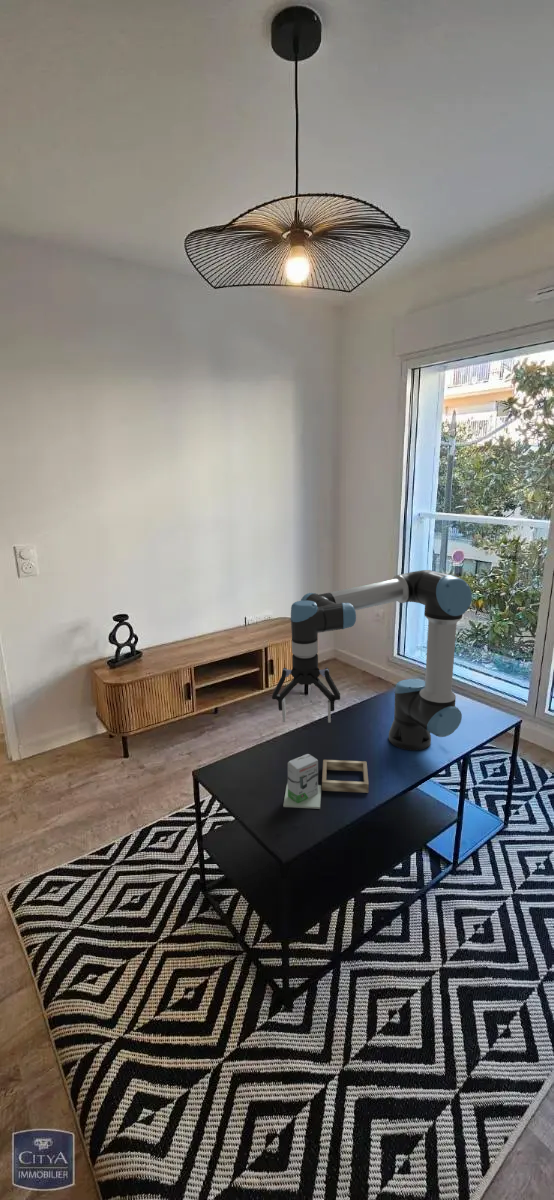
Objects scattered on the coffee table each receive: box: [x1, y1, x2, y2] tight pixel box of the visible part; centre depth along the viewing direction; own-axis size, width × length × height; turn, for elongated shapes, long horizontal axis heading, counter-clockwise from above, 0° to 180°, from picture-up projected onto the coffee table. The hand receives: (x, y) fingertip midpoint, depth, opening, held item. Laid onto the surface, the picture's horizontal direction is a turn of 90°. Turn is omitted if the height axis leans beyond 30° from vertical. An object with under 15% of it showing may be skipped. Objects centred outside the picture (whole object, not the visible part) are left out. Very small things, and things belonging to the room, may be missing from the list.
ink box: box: [287, 753, 319, 803], centre depth 157 cm, size 9×5×12 cm, turn 127°
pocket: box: [321, 759, 370, 794], centre depth 166 cm, size 14×13×3 cm
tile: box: [282, 783, 322, 810], centre depth 159 cm, size 11×11×1 cm
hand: (306, 720), depth 155 cm, fingers open, 13 cm apart
